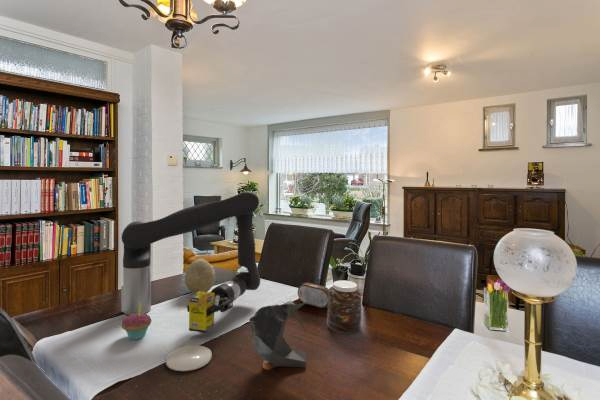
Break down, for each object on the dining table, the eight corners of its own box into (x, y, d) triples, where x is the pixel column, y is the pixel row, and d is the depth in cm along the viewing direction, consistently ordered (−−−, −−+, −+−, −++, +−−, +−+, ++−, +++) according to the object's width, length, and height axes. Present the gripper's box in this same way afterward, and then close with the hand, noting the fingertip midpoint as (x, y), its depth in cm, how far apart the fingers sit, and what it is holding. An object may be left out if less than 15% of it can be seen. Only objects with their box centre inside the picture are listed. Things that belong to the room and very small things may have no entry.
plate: (156, 367, 91) (156, 362, 91) (184, 346, 102) (184, 342, 102) (194, 376, 87) (194, 371, 87) (219, 353, 99) (219, 349, 99)
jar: (364, 323, 121) (366, 282, 120) (355, 337, 111) (357, 291, 110) (333, 317, 126) (334, 277, 125) (321, 329, 116) (322, 286, 115)
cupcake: (157, 332, 111) (157, 296, 110) (136, 344, 103) (136, 305, 102) (136, 328, 113) (136, 293, 113) (114, 339, 105) (114, 301, 105)
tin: (332, 308, 135) (333, 287, 134) (328, 311, 132) (329, 289, 132) (300, 300, 143) (300, 280, 142) (296, 302, 140) (296, 282, 140)
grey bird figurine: (254, 350, 101) (254, 290, 100) (306, 351, 101) (307, 292, 100) (245, 378, 87) (245, 309, 86) (305, 380, 87) (307, 311, 85)
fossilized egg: (192, 287, 156) (192, 255, 155) (219, 289, 154) (219, 256, 153) (179, 297, 143) (179, 261, 142) (208, 299, 141) (208, 263, 140)
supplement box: (206, 333, 106) (206, 298, 105) (188, 331, 107) (188, 296, 106) (214, 325, 112) (215, 292, 111) (197, 323, 113) (198, 290, 112)
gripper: (208, 280, 124) (178, 295, 109) (244, 286, 120) (218, 302, 104) (208, 301, 125) (178, 318, 109) (243, 307, 121) (217, 326, 105)
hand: (197, 310), depth 107 cm, fingers closed on supplement box, 6 cm apart
